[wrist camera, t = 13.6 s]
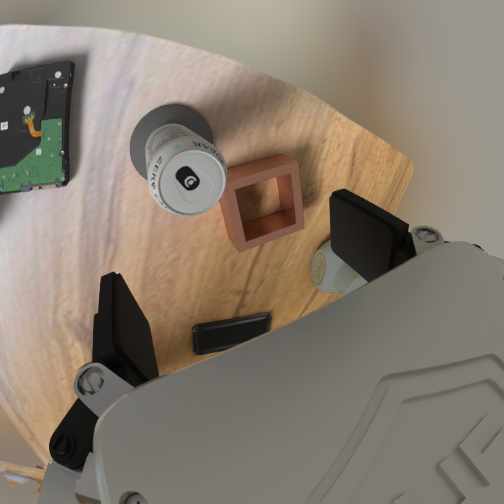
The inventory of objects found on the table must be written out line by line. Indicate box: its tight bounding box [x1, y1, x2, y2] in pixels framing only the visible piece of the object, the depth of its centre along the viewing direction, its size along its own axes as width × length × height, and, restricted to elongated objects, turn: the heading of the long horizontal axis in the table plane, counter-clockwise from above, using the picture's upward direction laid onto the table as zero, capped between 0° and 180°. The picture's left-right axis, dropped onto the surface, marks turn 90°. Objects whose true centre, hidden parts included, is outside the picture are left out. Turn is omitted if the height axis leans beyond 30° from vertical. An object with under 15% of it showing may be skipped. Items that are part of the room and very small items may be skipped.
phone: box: [192, 312, 272, 355], centre depth 51 cm, size 8×1×15 cm
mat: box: [130, 105, 213, 180], centre depth 31 cm, size 10×10×1 cm
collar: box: [219, 154, 304, 252], centre depth 37 cm, size 10×10×4 cm
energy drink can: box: [145, 123, 227, 216], centre depth 24 cm, size 6×6×15 cm
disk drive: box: [0, 61, 75, 195], centre depth 22 cm, size 10×3×15 cm
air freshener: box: [311, 239, 368, 295], centre depth 46 cm, size 11×8×10 cm
